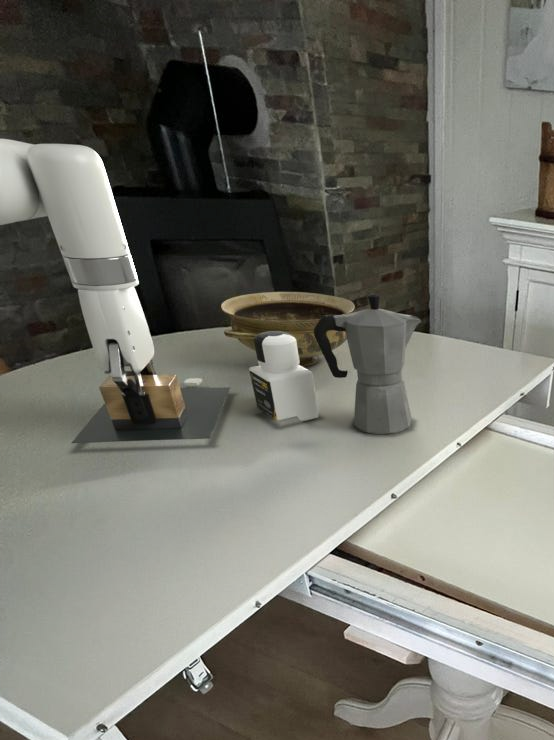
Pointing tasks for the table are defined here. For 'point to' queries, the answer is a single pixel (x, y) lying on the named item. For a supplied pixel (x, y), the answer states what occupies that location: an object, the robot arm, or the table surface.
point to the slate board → (198, 425)
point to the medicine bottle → (282, 378)
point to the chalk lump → (192, 382)
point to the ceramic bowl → (286, 318)
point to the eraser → (161, 395)
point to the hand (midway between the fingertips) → (149, 414)
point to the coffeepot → (373, 364)
